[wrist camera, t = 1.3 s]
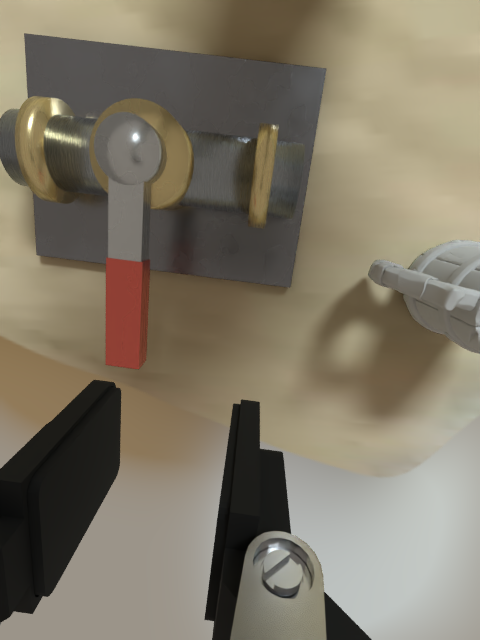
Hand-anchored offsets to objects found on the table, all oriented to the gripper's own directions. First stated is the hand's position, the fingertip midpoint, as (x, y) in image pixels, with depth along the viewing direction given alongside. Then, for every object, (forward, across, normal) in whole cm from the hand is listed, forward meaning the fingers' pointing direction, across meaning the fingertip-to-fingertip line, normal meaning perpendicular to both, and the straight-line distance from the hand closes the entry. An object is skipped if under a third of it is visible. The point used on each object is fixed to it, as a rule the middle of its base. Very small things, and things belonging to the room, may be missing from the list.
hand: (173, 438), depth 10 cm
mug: (+21, -16, -3) cm, 27 cm away
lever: (+13, +6, -3) cm, 15 cm away
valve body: (+21, +6, -9) cm, 24 cm away
